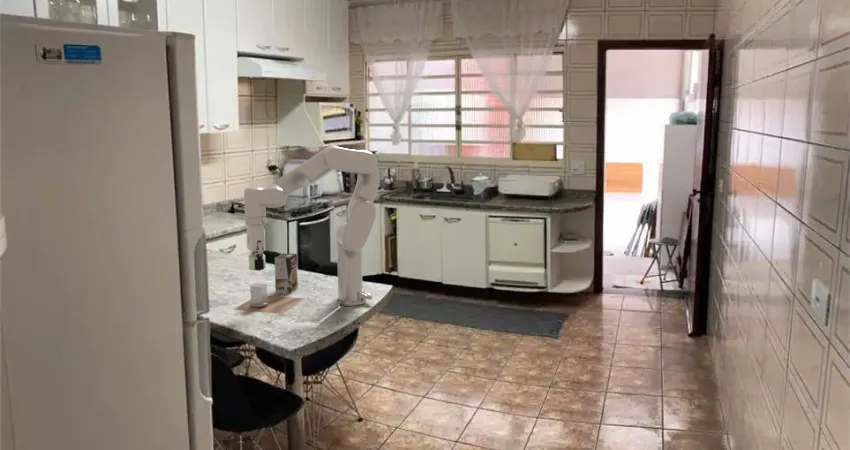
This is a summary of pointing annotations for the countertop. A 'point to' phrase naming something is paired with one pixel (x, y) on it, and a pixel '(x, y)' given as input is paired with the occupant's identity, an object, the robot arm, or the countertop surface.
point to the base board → (273, 304)
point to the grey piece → (258, 295)
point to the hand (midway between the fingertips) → (257, 267)
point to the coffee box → (286, 273)
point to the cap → (252, 261)
